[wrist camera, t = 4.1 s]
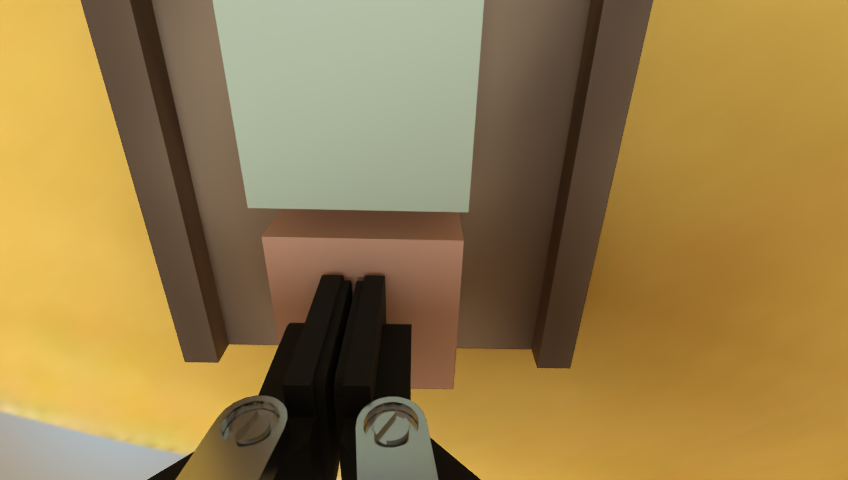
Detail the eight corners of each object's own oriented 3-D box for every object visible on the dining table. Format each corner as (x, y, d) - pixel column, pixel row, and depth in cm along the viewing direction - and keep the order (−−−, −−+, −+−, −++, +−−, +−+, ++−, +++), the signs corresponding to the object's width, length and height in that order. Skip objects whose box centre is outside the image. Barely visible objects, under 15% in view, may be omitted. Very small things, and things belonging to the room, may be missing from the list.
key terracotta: (457, 201, 13) (463, 240, 11) (449, 335, 16) (453, 389, 14) (288, 198, 13) (261, 236, 11) (305, 332, 16) (285, 386, 13)
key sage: (473, -36, 10) (487, -47, 8) (460, 175, 13) (468, 212, 10) (251, -41, 10) (202, -55, 8) (279, 172, 12) (247, 208, 10)
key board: (705, -445, 9) (780, -565, 7) (554, 330, 19) (570, 368, 17) (18, -470, 9) (-93, -599, 7) (210, 324, 18) (184, 362, 16)
